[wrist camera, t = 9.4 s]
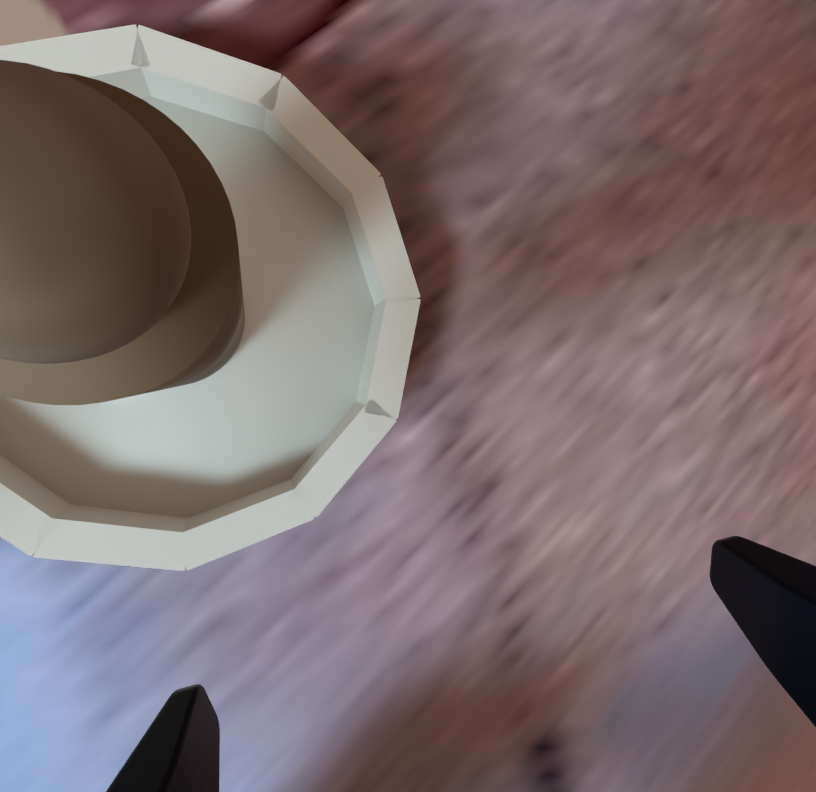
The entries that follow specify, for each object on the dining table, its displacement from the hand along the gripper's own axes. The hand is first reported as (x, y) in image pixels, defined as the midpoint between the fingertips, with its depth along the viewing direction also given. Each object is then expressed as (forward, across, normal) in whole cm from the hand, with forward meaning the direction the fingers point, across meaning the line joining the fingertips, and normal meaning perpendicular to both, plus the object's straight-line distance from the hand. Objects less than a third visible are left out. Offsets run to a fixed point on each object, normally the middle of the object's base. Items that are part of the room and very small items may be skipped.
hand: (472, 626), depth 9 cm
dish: (+14, +6, -3) cm, 15 cm away
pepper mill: (+13, +6, -4) cm, 15 cm away
